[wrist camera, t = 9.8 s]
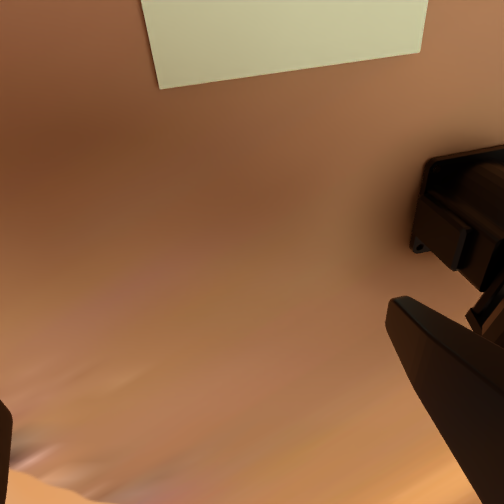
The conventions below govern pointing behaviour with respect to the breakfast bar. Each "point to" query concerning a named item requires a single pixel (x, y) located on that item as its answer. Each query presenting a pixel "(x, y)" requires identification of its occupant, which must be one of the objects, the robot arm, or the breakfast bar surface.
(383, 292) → the breakfast bar surface
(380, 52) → the mat
